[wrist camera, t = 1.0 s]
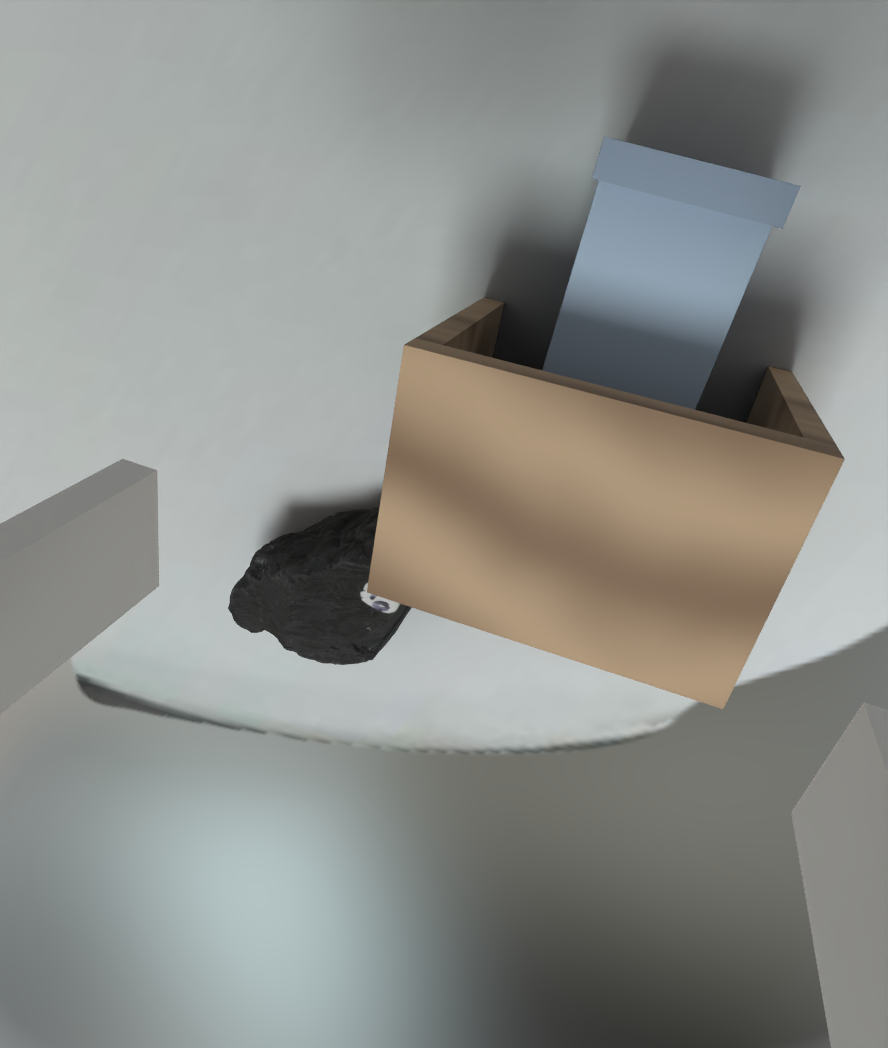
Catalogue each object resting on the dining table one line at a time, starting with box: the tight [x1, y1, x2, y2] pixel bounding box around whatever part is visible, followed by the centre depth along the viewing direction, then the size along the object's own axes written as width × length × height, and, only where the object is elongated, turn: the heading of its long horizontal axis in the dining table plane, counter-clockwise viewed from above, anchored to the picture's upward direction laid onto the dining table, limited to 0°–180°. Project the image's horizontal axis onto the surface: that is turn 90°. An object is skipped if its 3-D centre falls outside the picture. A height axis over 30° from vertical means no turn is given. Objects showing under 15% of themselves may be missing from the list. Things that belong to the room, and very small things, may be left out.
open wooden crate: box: [367, 298, 844, 709], centre depth 29 cm, size 10×14×11 cm
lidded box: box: [542, 137, 800, 410], centre depth 29 cm, size 14×6×8 cm, turn 167°
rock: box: [228, 506, 412, 665], centre depth 39 cm, size 10×9×6 cm
